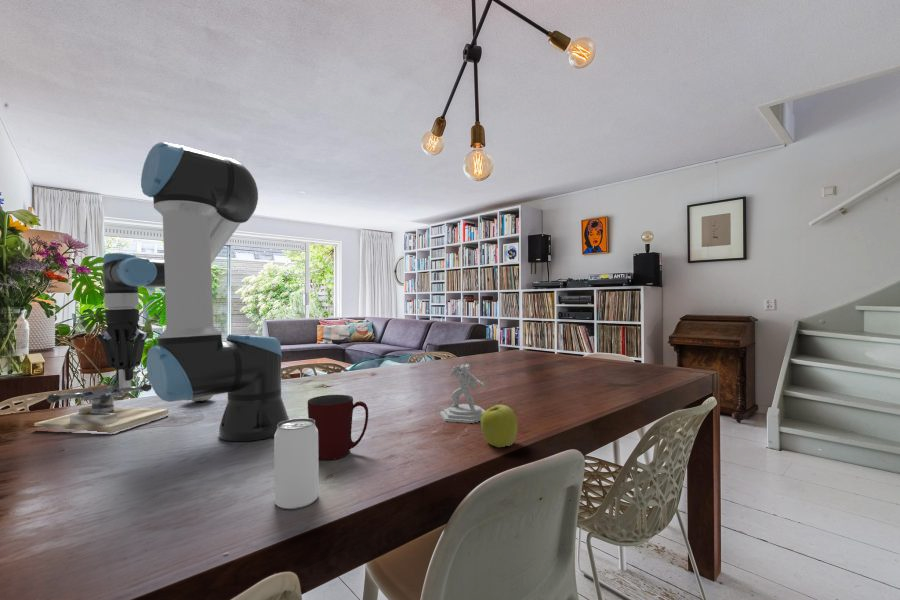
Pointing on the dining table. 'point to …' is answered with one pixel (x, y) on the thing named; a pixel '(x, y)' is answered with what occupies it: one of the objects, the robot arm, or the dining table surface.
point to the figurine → (466, 411)
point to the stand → (104, 419)
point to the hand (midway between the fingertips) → (125, 392)
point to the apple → (499, 425)
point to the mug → (334, 424)
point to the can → (296, 463)
